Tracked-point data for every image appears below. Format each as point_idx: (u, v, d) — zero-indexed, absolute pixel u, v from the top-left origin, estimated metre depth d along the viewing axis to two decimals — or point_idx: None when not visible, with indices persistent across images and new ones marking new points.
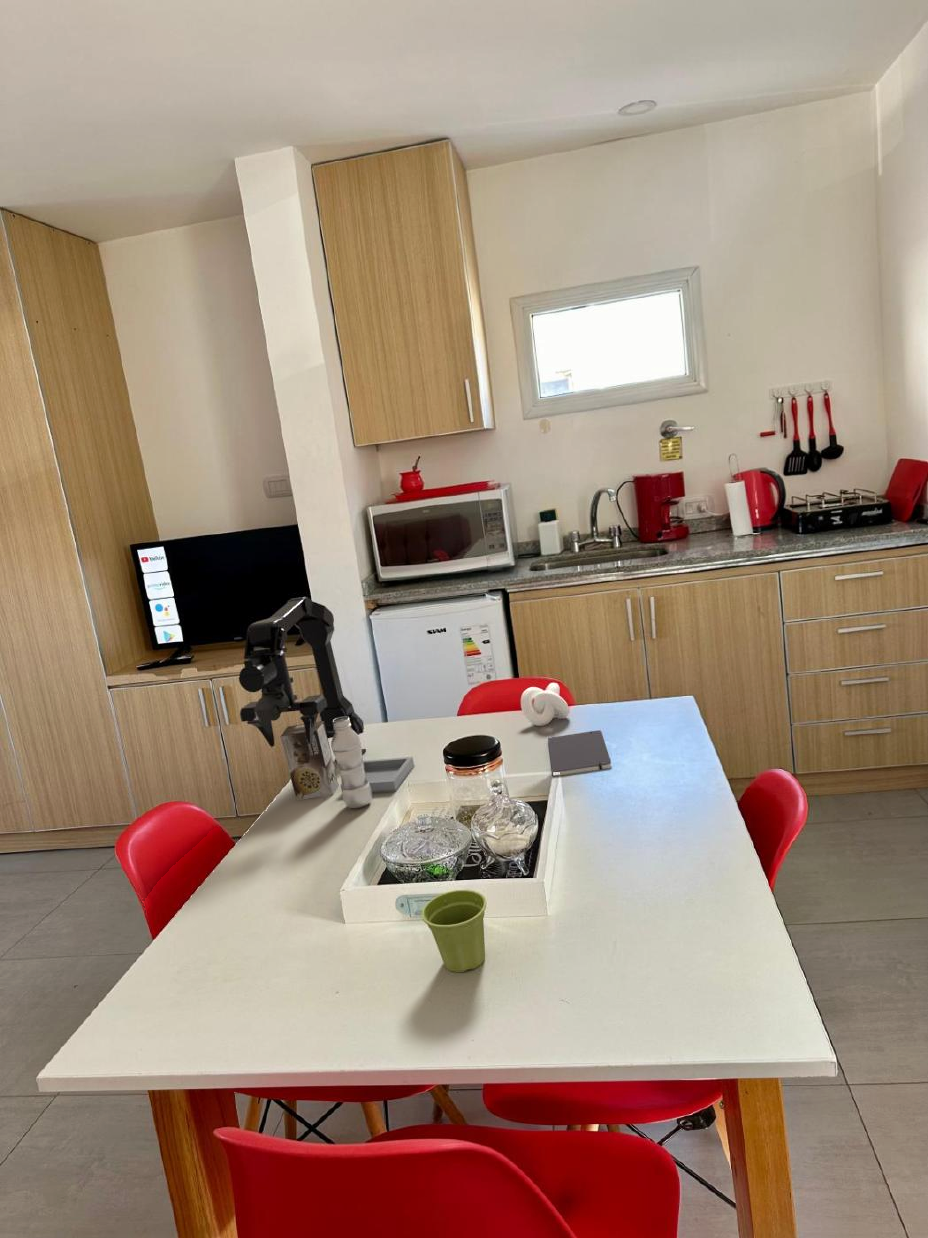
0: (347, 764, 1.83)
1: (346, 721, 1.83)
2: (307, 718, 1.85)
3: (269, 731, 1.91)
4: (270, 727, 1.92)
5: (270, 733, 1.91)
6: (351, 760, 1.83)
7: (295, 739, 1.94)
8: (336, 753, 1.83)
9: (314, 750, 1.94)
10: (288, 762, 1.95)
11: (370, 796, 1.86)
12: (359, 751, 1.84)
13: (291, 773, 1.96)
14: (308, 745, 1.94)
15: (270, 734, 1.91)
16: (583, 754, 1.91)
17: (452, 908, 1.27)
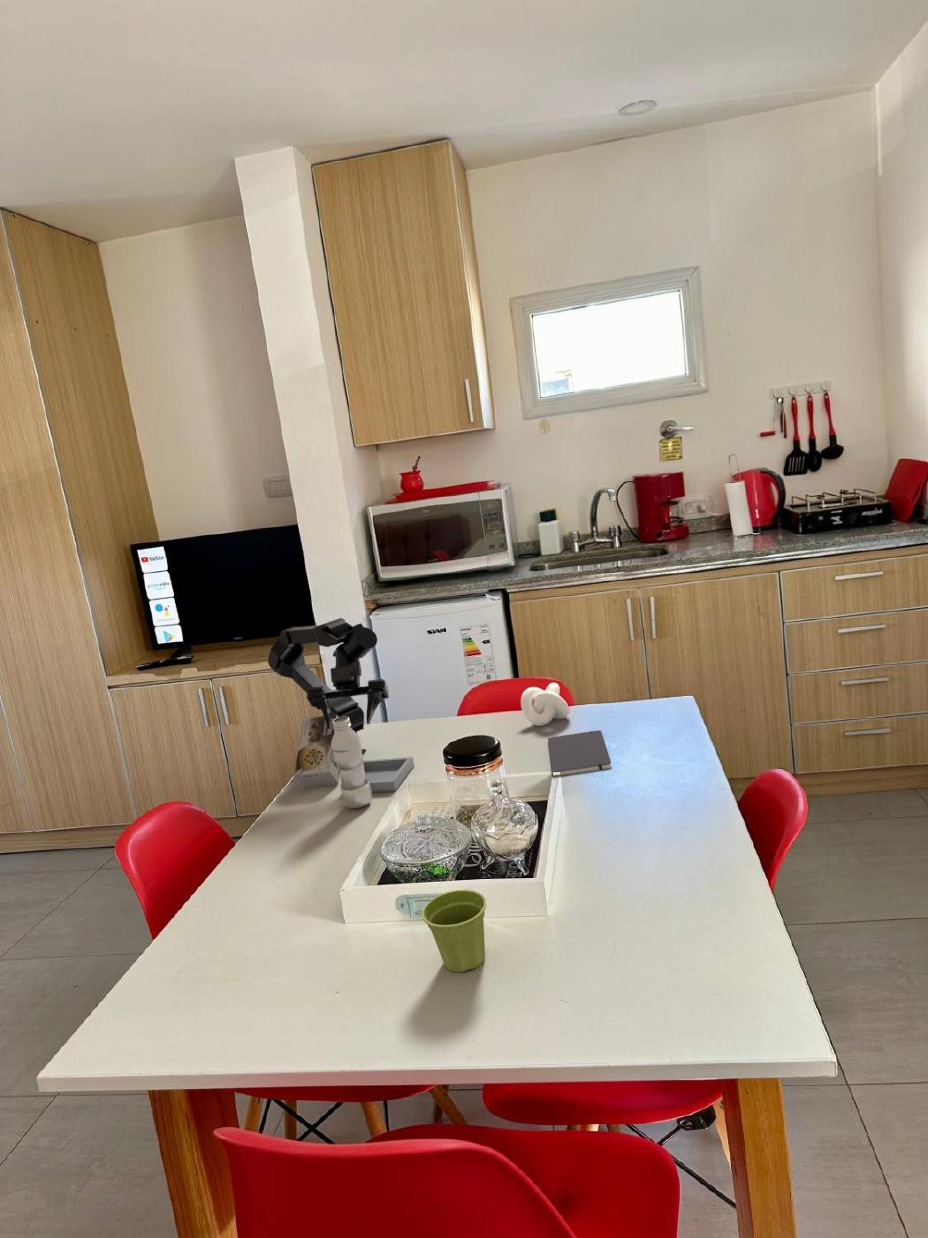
0: (347, 764, 1.83)
1: (346, 721, 1.83)
2: (373, 692, 2.01)
3: (329, 715, 2.02)
4: (329, 714, 2.03)
5: (329, 717, 2.02)
6: (351, 760, 1.83)
7: (314, 721, 2.08)
8: (336, 753, 1.83)
9: (328, 731, 2.05)
10: (300, 741, 2.05)
11: (370, 796, 1.86)
12: (359, 751, 1.84)
13: (299, 750, 2.03)
14: (324, 726, 2.06)
15: (329, 717, 2.02)
16: (583, 754, 1.91)
17: (452, 908, 1.27)
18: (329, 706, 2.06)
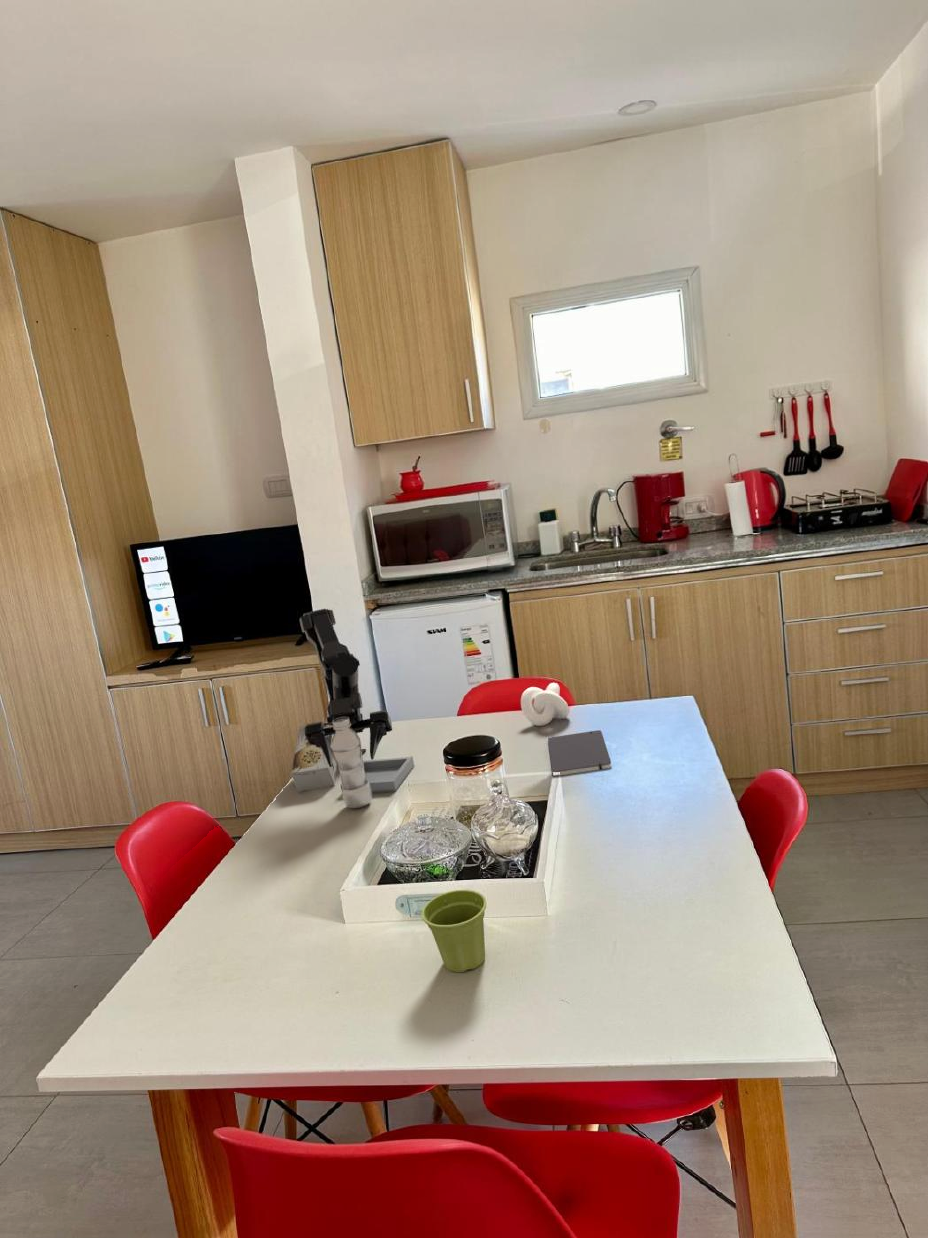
0: (347, 764, 1.83)
1: (346, 721, 1.83)
2: (376, 724, 1.88)
3: (329, 752, 1.89)
4: (329, 751, 1.90)
5: (330, 754, 1.88)
6: (351, 760, 1.83)
7: None
8: (336, 753, 1.83)
9: None
10: (297, 745, 2.06)
11: (370, 796, 1.86)
12: (359, 751, 1.84)
13: (296, 753, 2.04)
14: None
15: (329, 754, 1.88)
16: (583, 754, 1.91)
17: (452, 908, 1.27)
18: None
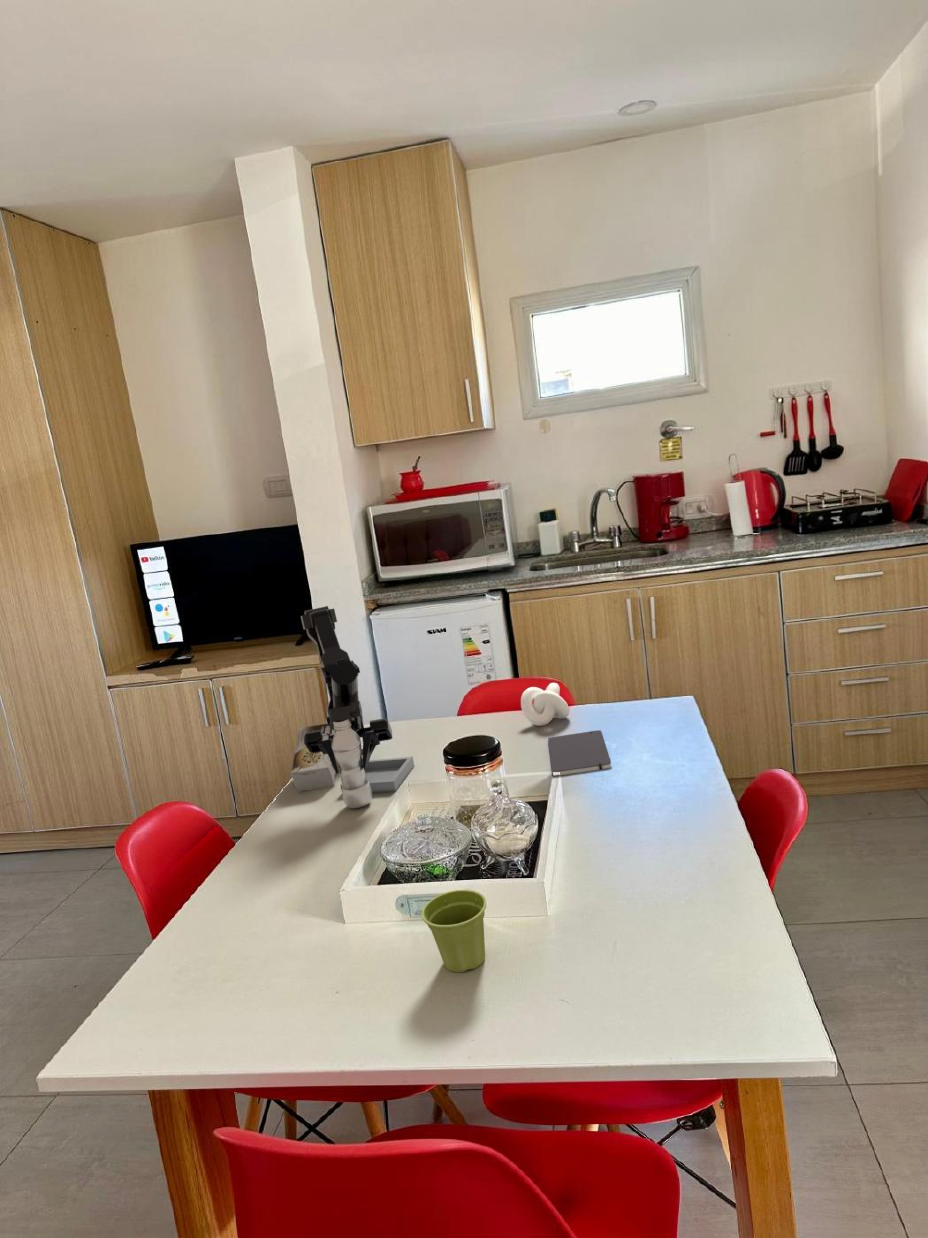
0: (347, 764, 1.83)
1: (346, 721, 1.83)
2: (369, 734, 1.86)
3: None
4: None
5: (336, 761, 1.87)
6: (351, 760, 1.83)
7: (311, 729, 2.11)
8: (336, 753, 1.83)
9: None
10: (297, 745, 2.06)
11: (370, 796, 1.86)
12: (359, 751, 1.84)
13: (296, 753, 2.04)
14: None
15: (336, 761, 1.87)
16: (583, 754, 1.91)
17: (452, 908, 1.27)
18: None
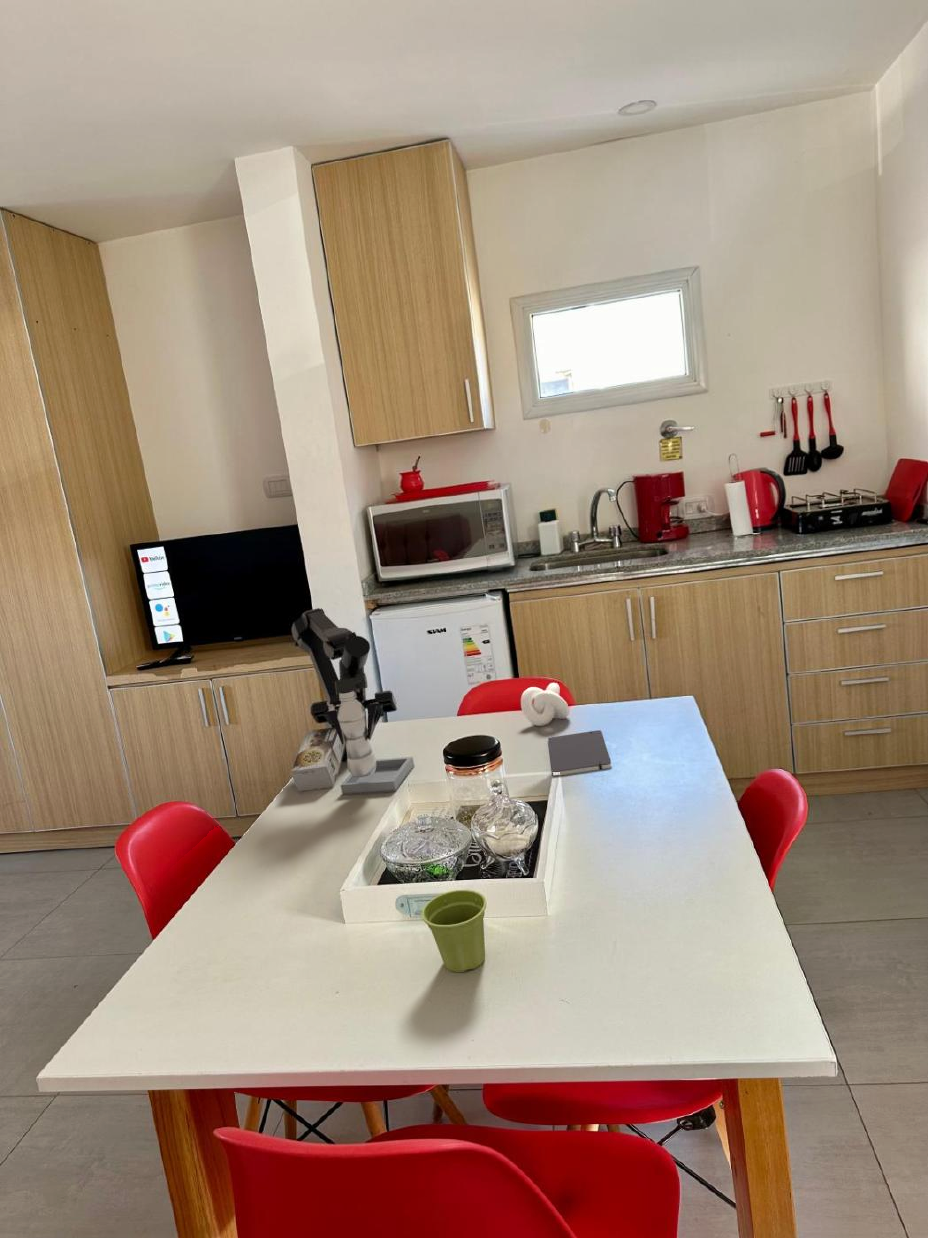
0: (353, 734, 1.88)
1: (352, 692, 1.88)
2: (374, 705, 1.91)
3: (341, 729, 1.92)
4: None
5: None
6: (356, 731, 1.88)
7: (318, 732, 2.12)
8: (342, 723, 1.88)
9: (329, 738, 2.08)
10: (302, 746, 2.08)
11: (374, 765, 1.92)
12: (364, 722, 1.89)
13: (299, 753, 2.05)
14: (326, 735, 2.10)
15: None
16: (583, 754, 1.91)
17: (452, 908, 1.27)
18: None
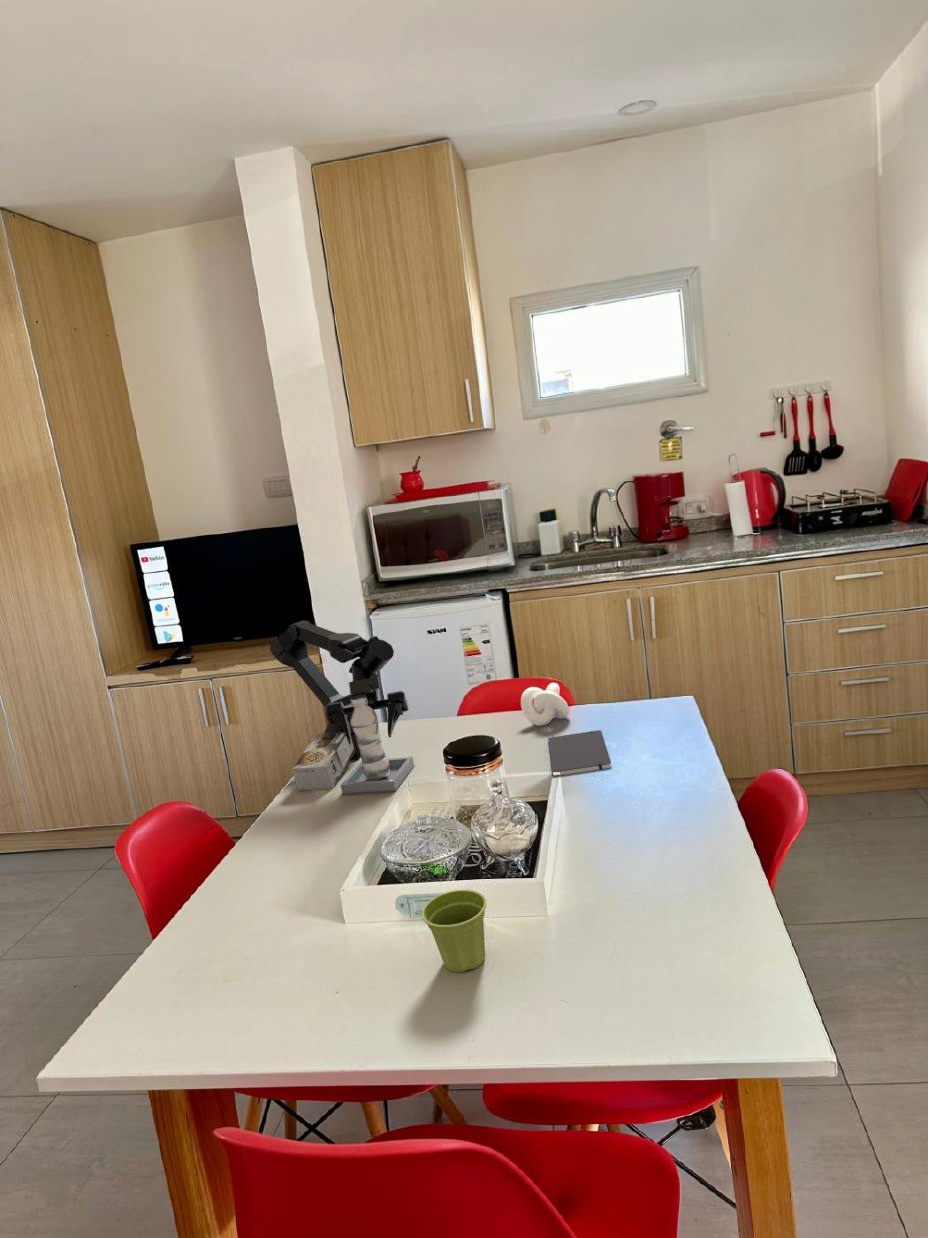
0: (366, 738, 1.95)
1: (363, 698, 1.95)
2: (393, 704, 1.98)
3: (349, 730, 1.99)
4: (349, 729, 2.00)
5: (349, 732, 1.99)
6: (369, 735, 1.95)
7: (327, 734, 2.12)
8: (355, 729, 1.95)
9: (336, 741, 2.08)
10: (308, 747, 2.09)
11: (388, 769, 1.99)
12: (376, 726, 1.96)
13: (304, 753, 2.06)
14: (333, 738, 2.10)
15: (349, 732, 1.98)
16: (583, 754, 1.91)
17: (452, 908, 1.27)
18: (348, 722, 2.03)
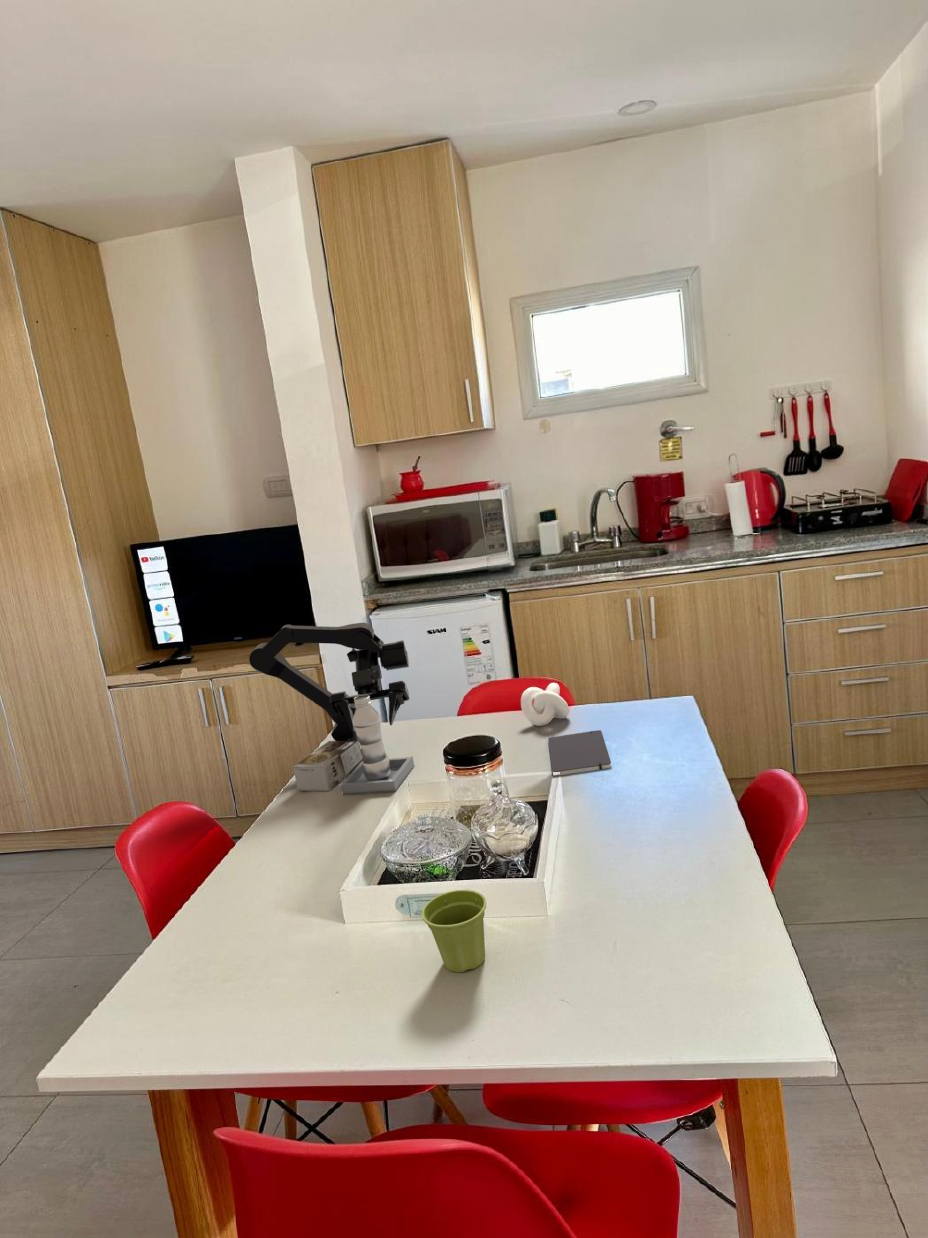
0: (368, 739, 1.95)
1: (366, 699, 1.95)
2: (394, 693, 2.06)
3: (352, 719, 2.07)
4: (352, 718, 2.08)
5: (352, 721, 2.07)
6: (371, 736, 1.95)
7: (337, 742, 2.13)
8: (357, 729, 1.95)
9: (343, 747, 2.08)
10: (316, 750, 2.09)
11: (389, 769, 1.99)
12: (379, 727, 1.96)
13: (310, 755, 2.07)
14: (342, 745, 2.10)
15: (352, 721, 2.07)
16: (583, 754, 1.91)
17: (452, 908, 1.27)
18: (352, 711, 2.11)
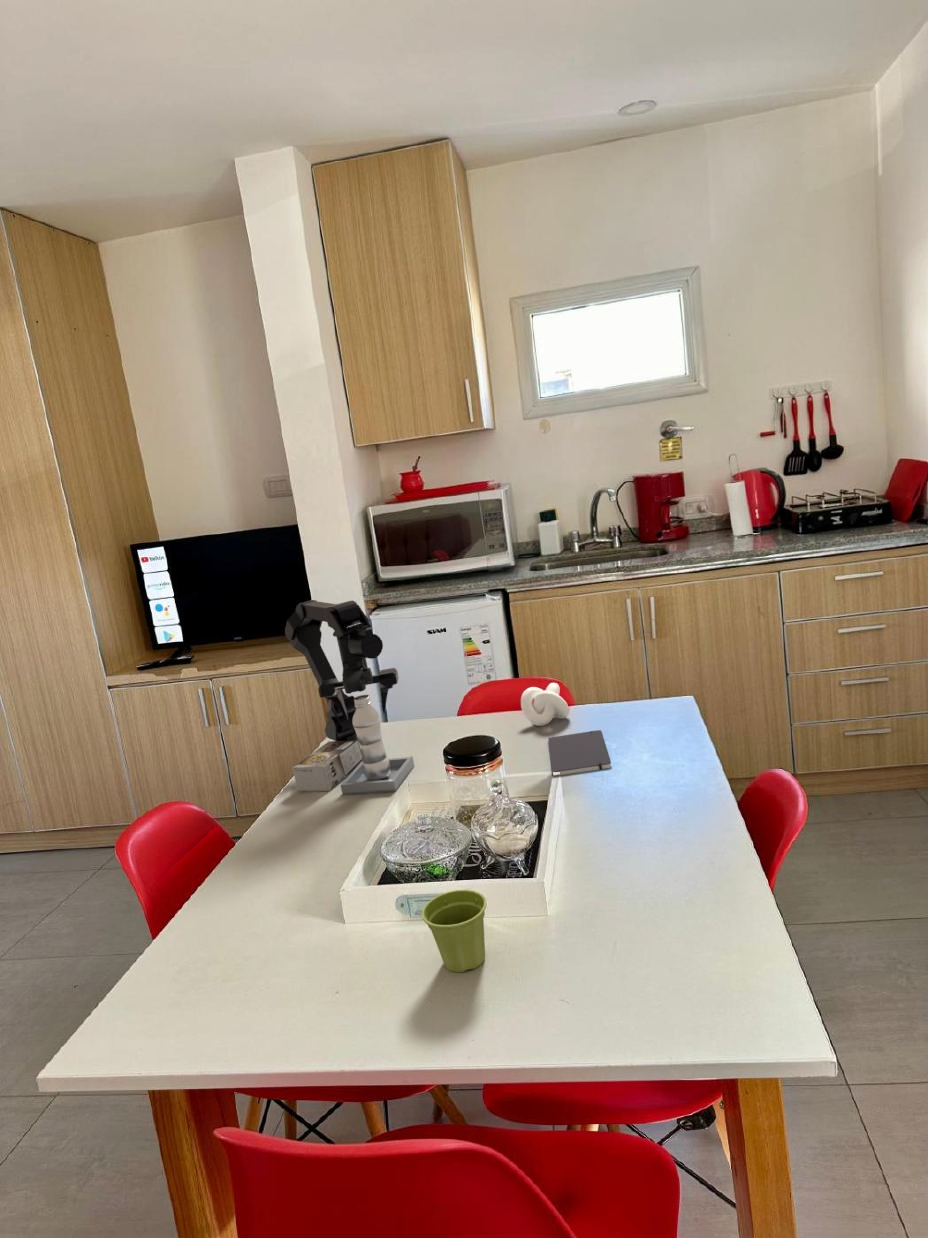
0: (368, 739, 1.95)
1: (366, 699, 1.95)
2: (386, 688, 2.03)
3: (344, 705, 2.07)
4: (343, 702, 2.07)
5: (344, 707, 2.07)
6: (371, 736, 1.95)
7: (336, 742, 2.13)
8: (357, 729, 1.95)
9: (342, 747, 2.08)
10: (315, 751, 2.09)
11: (389, 769, 1.99)
12: (378, 727, 1.96)
13: (309, 756, 2.07)
14: (341, 745, 2.10)
15: (344, 708, 2.07)
16: (583, 754, 1.91)
17: (452, 908, 1.27)
18: (340, 689, 2.08)
